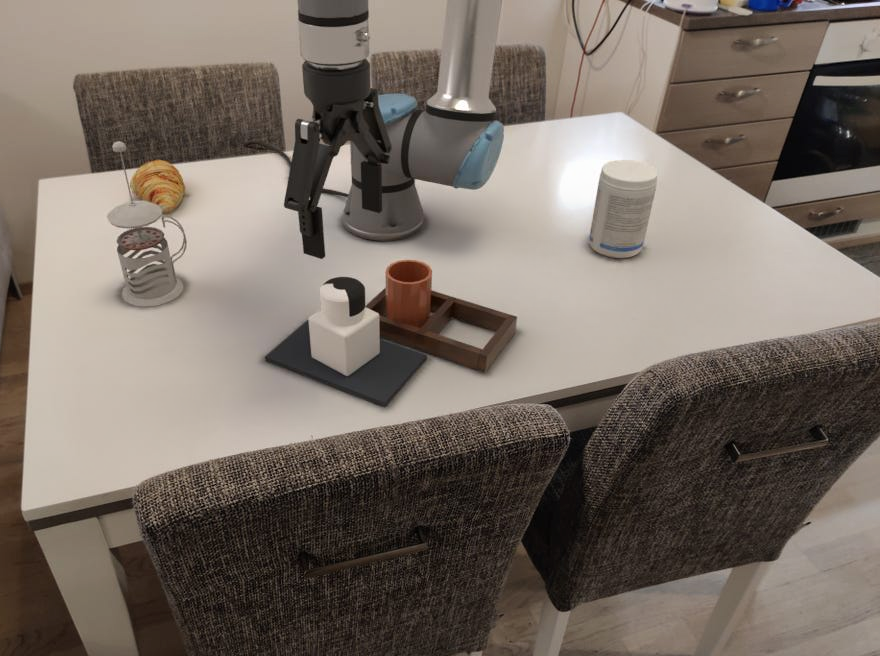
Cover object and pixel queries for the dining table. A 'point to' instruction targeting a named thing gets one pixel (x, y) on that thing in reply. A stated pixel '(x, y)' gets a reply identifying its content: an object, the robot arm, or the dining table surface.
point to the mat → (367, 382)
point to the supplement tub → (622, 208)
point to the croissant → (158, 184)
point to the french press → (153, 279)
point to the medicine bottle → (344, 327)
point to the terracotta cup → (408, 292)
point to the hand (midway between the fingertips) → (344, 231)
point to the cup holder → (444, 312)
